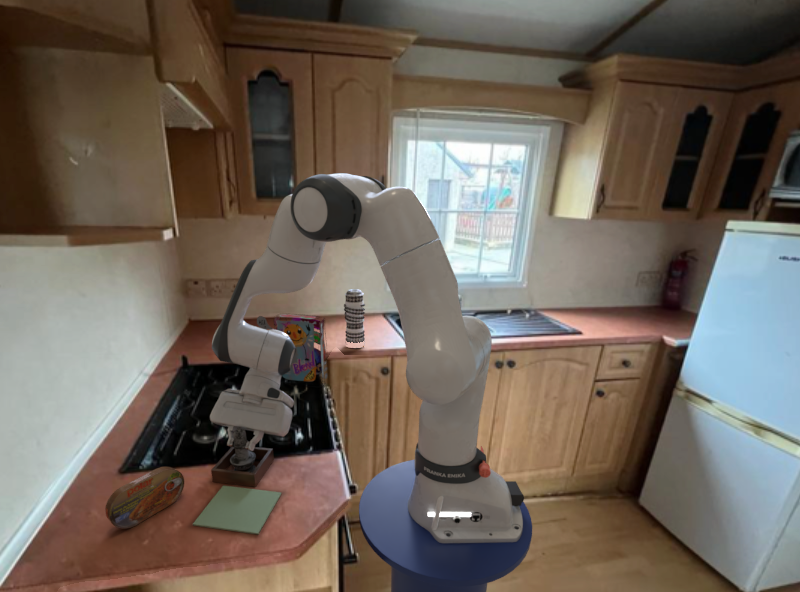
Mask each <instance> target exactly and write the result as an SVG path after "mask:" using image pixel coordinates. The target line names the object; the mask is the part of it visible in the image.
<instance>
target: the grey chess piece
mask: <svg viewBox="0 0 800 592" xmlns="http://www.w3.org/2000/svg"><path fill="white" fill-rule="evenodd" d="M237 429H238V430H236V431H235V432H234V434H233V436H234V444H233V447H234V448H235V454H234V455H233V456H232V457H231V458H230V462H231V465H232V466H233V468H234V469H233V470H232V471H241V472H250V473H253V471H254V470H255V469H256V467H257V466H256V465H255V458H256V455H255V453H254V452H252V451H249V450H246V449H245V446H246V442H247V441H248V439H247V432H246V430H244V429H240V427H238V428H237Z"/></svg>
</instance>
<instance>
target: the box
mask: <svg viewBox="0 0 800 592" xmlns="http://www.w3.org/2000/svg"><path fill="white" fill-rule="evenodd" d="M281 318H283V319H281ZM284 318H285V319H284ZM287 318H288V319H287ZM289 318H290V320H289ZM325 322H326V319H325V318H320V320H319V317H318V315H311V314H310V315H308V314H305V315H303V313H302V314H301V313H299V314H298V313H294V314H288V313H286V312H285V313H284V312H282V313H279V314H277V315H275V316H274V318H273V326H274V327H272V326H270V325H269V323H268V321H267V319H266V317H264V316H263V315H258V316H257V318H256V324H257V327H259V328H263V329H266V330H272V329H273V330H279V331H282V332H284V333H285V334H287V335H288V336H289V337H290V339H291V340H292V342H293V344H294V346H295V348H296V353H295V356H294V358H293V360H292V363H291V366H290V371H289V372H287V373H286V374H284V375H282V378H283V379H285V380H289V381H294V382H293V385H296V384H297V383H298V384H299V386H300V387H301V386H304V387H307V388H309V387H310V388H313V386H312V385H309V384H306V383H305V384H303V383H301V382H314V381H317V382H318V380H316V379H317V375H321V378H322V379H321V380H320V383H321V384H320V385H319V386H315V388H317V389H318V388H321V387H322V386H321V385H324V383H325V381H323V379H325V380H327V379H328V378H330V374H329V372H330V371H329V367H328V366H326V365H327V360H325V359H327V357H329V353H328V352H327V348H326V347H328V345H327V342H326V341H325V338H327V335H326V332H325V329H326V324H325ZM315 344H317V345H318V347H317V348H316V347H315ZM324 366H325V368H324ZM324 372H326V373H325V374H324ZM295 381H298V382H295ZM283 383H284V384H288V385H291V382H287V381H286V382H285V381H283ZM294 383H296V384H294ZM306 385H307V386H306Z"/></svg>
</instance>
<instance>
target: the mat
mask: <svg viewBox="0 0 800 592" xmlns="http://www.w3.org/2000/svg"><path fill="white" fill-rule="evenodd" d="M281 496H282V492H280V491H274V490H265V489H256V488H249V487H239V486H231V485H222V486H221V487H220V488H219V490H218V491H217V492H216V494H215V495H214V496H213V497H212V499H211V500H210V501H209V503H208V504H207V505H206V506H205V508H204V509H203V510H202V511H201V513H200V514H199V515H198V516H197V518H196V519H195V520H194V522H193V523H192V526H195V527H201V528H209V529H215V530H223V531H230V532H237V533H245V534H251V535H259V534H260V533H261V531H262V529H263V528H264V526H265V524H266V522H267V520H268V518H269V517H270V515H271V513H272V511H273V510H274V508H275V507H276V505H277V504H278V503H277V502H278V501H279V499H280V498H281Z"/></svg>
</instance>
